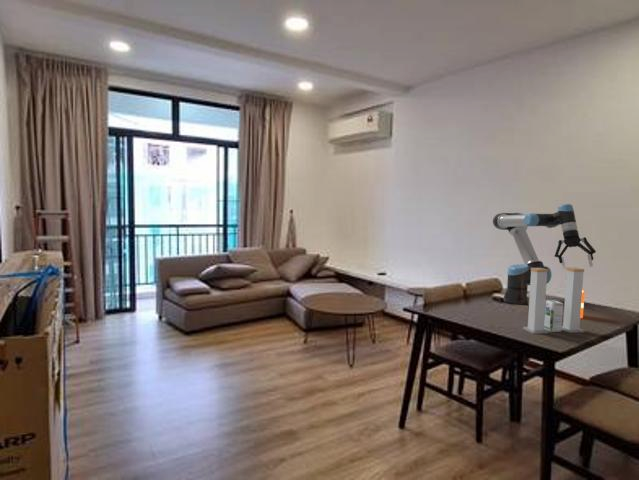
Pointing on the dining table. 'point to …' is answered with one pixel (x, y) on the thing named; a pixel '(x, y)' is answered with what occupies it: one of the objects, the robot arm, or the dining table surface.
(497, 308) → the dining table surface
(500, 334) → the dining table surface
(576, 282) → the post
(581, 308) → the orange juice
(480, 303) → the dining table surface
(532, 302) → the post
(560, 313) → the syrup box
